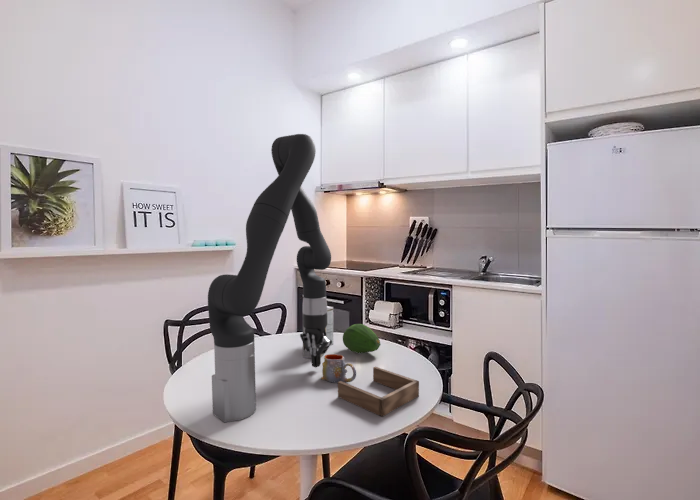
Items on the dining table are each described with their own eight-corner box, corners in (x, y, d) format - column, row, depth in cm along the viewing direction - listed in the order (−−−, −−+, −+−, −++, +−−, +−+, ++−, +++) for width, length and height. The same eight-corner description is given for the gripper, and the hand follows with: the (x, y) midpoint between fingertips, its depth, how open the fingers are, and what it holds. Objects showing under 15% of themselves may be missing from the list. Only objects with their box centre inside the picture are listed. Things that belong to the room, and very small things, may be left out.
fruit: (387, 355, 131) (386, 326, 130) (366, 362, 124) (365, 332, 124) (357, 345, 142) (357, 318, 142) (337, 350, 136) (336, 323, 135)
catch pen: (382, 416, 89) (382, 400, 88) (338, 396, 99) (337, 381, 99) (418, 396, 99) (418, 381, 99) (375, 380, 110) (375, 366, 109)
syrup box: (312, 345, 143) (311, 307, 142) (323, 341, 147) (322, 304, 146) (323, 348, 139) (322, 309, 138) (334, 344, 144) (333, 306, 143)
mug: (317, 378, 111) (317, 356, 111) (334, 372, 116) (334, 350, 116) (346, 390, 103) (345, 367, 102) (363, 383, 108) (362, 360, 107)
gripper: (292, 310, 118) (293, 364, 119) (319, 317, 109) (320, 375, 110) (310, 306, 123) (311, 358, 124) (338, 312, 114) (339, 368, 115)
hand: (316, 366), depth 117 cm, fingers closed
